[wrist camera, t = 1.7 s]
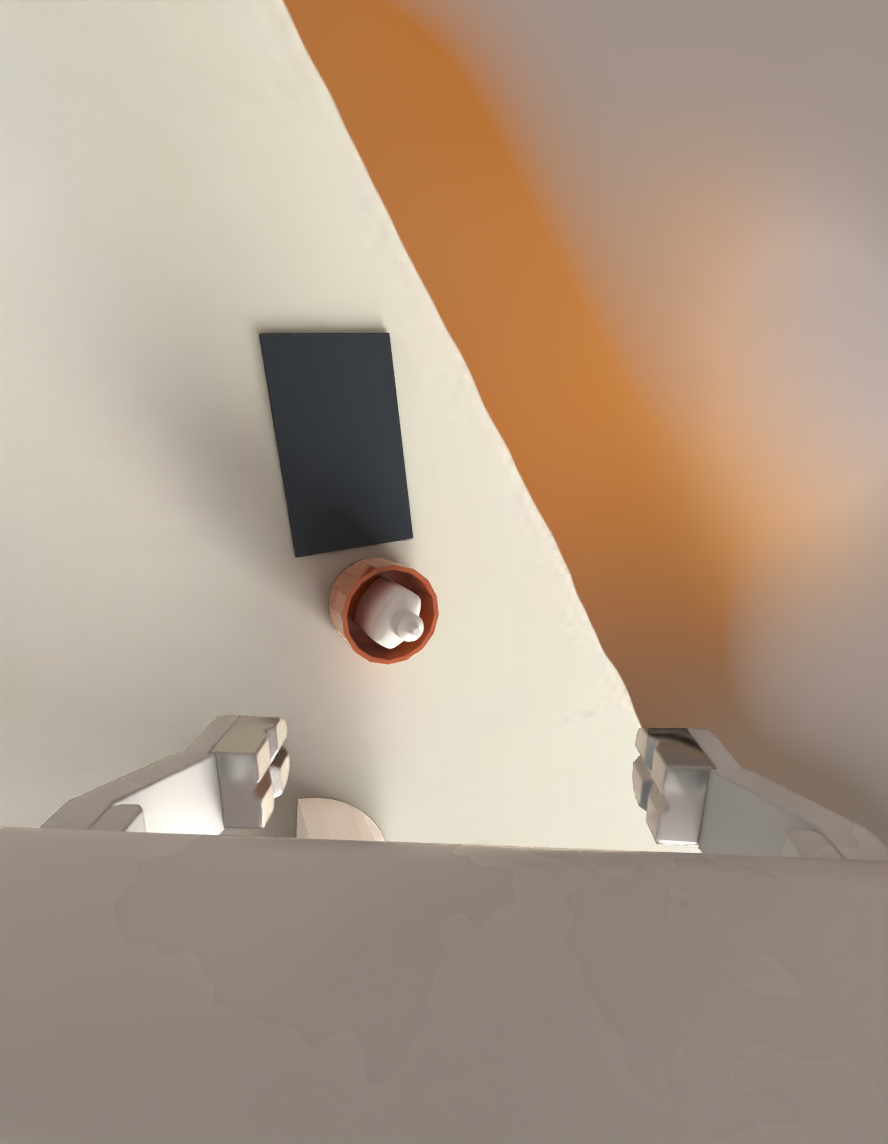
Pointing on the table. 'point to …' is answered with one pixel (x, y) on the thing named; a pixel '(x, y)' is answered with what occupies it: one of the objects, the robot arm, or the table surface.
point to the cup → (351, 590)
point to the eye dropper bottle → (389, 613)
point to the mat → (338, 439)
